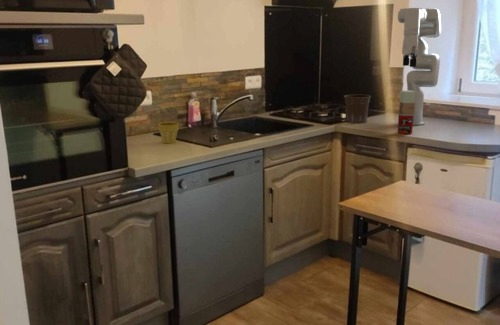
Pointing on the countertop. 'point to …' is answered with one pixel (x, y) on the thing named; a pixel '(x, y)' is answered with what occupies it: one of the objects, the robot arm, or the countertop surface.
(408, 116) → the canned food
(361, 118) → the plant pot
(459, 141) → the countertop surface
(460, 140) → the countertop surface
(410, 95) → the cube sage
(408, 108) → the cube walnut
